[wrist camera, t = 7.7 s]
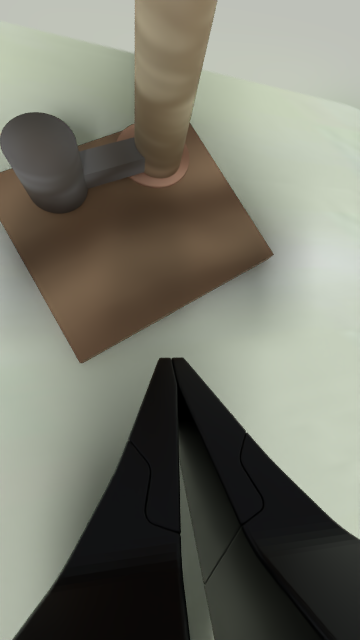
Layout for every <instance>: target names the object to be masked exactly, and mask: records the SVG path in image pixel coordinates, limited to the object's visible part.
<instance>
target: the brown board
mask: <svg viewBox="0 0 360 640" xmlns="http://www.w3.org/2000/svg"><path fill="white" fill-rule="evenodd" d="M134 134H135V124H132V125H130V126H128V127H127V128H126V129H124V130H123V131H120V132H117V133H114V134H111V135H108V136H105V137H103V138H100V139H97V140H94V141H91V142H88V143H85V144H82V145H79V146H78V150H79V151H83V150H87V149H90V148H94V147H98V146H102V145H106V144H110V143H114V142H118V141H121V140H125V139H129V138H133V137H134ZM0 221H1V222H2V224H3V226H4V228H5V230H6V231H7V233H8V235H9V237H10V239H11V240H12V242H13V244H14V246H15V248H16V249H17V251H18V253H19V255H20V257H21V258H22V260H23V262H24V264H25V265H26V267H27V269H28V271H29V273H30V274H31V276H32V278H33V280H34V282H35V283H36V285H37V287H38V289H39V291H40V292H41V294H42V296H43V298H44V299H45V301H46V303H47V305H48V307H49V308H50V310H51V312H52V314H53V316H54V317H55V319H56V321H57V323H58V325H59V326H60V328H61V330H62V332H63V334H64V335H65V337H66V339H67V341H68V342H69V344H70V346H71V348H72V350H73V351H74V353H75V355H76V357H77V359H78V360H79V362H80V363H84V362H86V361H87V360H89V359H91V358H93V357H94V356H96V355H98V354H100V353H102V352H103V351H105V350H107V349H109V348H110V347H112V346H114V345H116V344H118V343H119V342H121V341H123V340H125V339H127V338H128V337H130V336H132V335H134V334H135V333H137V332H139V331H141V330H143V329H144V328H146V327H148V326H150V325H151V324H153V323H155V322H157V321H159V320H160V319H162V318H164V317H166V316H168V315H169V314H171V313H173V312H175V311H176V310H178V309H180V308H182V307H184V306H185V305H187V304H189V303H191V302H192V301H194V300H196V299H198V298H200V297H201V296H203V295H205V294H207V293H209V292H210V291H212V290H214V289H216V288H217V287H219V286H221V285H223V284H225V283H226V282H228V281H230V280H232V279H233V278H235V277H237V276H239V275H241V274H242V273H244V272H246V271H248V270H250V269H251V268H253V267H255V266H257V265H258V264H260V263H262V262H264V261H266V260H267V259H269V258H270V257H271V256H273V255H274V254H273V253H272V251H271V249H270V248H269V246H268V245H267V243H266V242H265V240H264V238H263V237H262V235H261V234H260V232H259V231H258V229H257V227H256V226H255V224H254V223H253V221H252V220H251V218H250V216H249V215H248V213H247V212H246V210H245V209H244V207H243V205H242V204H241V202H240V201H239V199H238V198H237V196H236V194H235V193H234V191H233V190H232V188H231V187H230V185H229V183H228V182H227V180H226V179H225V177H224V176H223V174H222V172H221V171H220V169H219V168H218V166H217V165H216V163H215V161H214V160H213V158H212V157H211V155H210V154H209V152H208V151H207V149H206V147H205V146H204V144H203V143H202V141H201V140H200V138H199V136H198V135H197V133H196V132H195V130H194V129H193V127H192V125H191V124H190V123H189V127H188V132H187V136H186V141H185V145H184V149H183V154H182V158H181V162H180V166H179V169H178V170H177V172H176V173H175V174H174V175H172V176H170V177H168V178H162V179H159V178H153V177H150V176H148V175H146V174H145V173H144V172H143V173H140V174H136V175H133V176H130V177H126V178H123V179H119V180H116V181H113V182H109V183H106V184H103V185H99V186H96V187H92V188H89V189H88V193H87V197H86V199H85V201H84V202H83V204H82V205H81V206H80V207H78V208H77V209H75V210H73V211H71V212H67V213H51V212H47V211H45V210H43V209H41V208H39V207H38V206H37V205H36V204H35V203H34V202H33V201H32V200H31V198H30V196H29V195H28V193H27V192H26V190H25V188H24V187H23V185H22V183H21V182H20V180H19V178H18V177H17V175H16V173H15V172H14V170H13V169H9V170H6V171H3V172H0Z"/></svg>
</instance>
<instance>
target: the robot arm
mask: <svg viewBox="0 0 360 640" xmlns="http://www.w3.org/2000/svg"><path fill="white" fill-rule="evenodd" d="M179 460H180V465H181V470H182V475H183V480H184V485H185V490H186V495H187V500H188V506H189V511H190V516H191V521H192V526H193V531H194V536H195V541H196V546H197V551H198V557H199V562H200V567H201V572H202V577H203V582H204V584H205V586H204V588H205V593H206V598H207V603H208V608H209V613H210V618H211V623H212V628H213V634H214V639H215V640H360V539H358V538H356V537H355V536H353V535H352V534H350V533H349V532H348V531H346V530H345V529H343V528H342V527H341V526H340V525H338V524H337V523H336V522H335V521H334V520H333V519H331V518H330V517H329V516H328V515H327V514H326V513H325V512H324V511H323V510H322V509H321V508H320V507H319V506H318V505H317V504H316V503H315V502H314V501H313V500H312V499H311V498H310V497H309V496H308V495H307V494H306V493H304V492H303V491H302V490H301V489H300V488H299V487H298V486H297V485H296V484H295V483H294V482H293V481H292V480H291V479H290V478H289V477H288V476H287V475H286V474H285V473H284V472H283V471H282V470H281V469H280V468H279V467H278V466H277V465H276V464H275V463H274V462H273V461H272V460H271V459H270V458H269V457H268V455H267V454H266V453H265V452H264V451H263V450H262V449H261V448H260V447H259V445H258V444H257V443H256V442H255V441H254V440H253V439H252V437H251V436H250V435H249V434H248V433H246V430H245V429H244V428H243V427H242V426H241V425H240V423H239V422H238V421H237V420H236V419H235V418H234V416H233V415H232V414H231V413H230V412H229V410H228V409H227V408H226V407H225V406H224V405H223V403H222V402H221V401H220V400H219V399H218V398H217V396H216V395H215V394H214V393H213V392H212V391H211V389H210V388H209V387H208V386H207V385H206V384H205V382H204V381H203V380H202V379H201V378H200V376H199V375H198V374H197V373H196V372H195V371H194V369H193V368H192V367H191V366H190V365H189V364H188V362H187V361H186V360H185V359H184V358H172V359H171V358H160V359H159V360H158V363H157V365H156V368H155V371H154V373H153V376H152V378H151V381H150V384H149V386H148V389H147V391H146V394H145V397H144V399H143V402H142V404H141V407H140V410H139V412H138V415H137V417H136V420H135V423H134V425H133V428H132V430H131V433H130V436H129V438H128V441H127V443H126V446H125V448H124V451H123V453H122V456H121V458H120V460H119V463H118V465H117V467H116V470H115V472H114V474H113V476H112V478H111V480H110V482H109V484H108V486H107V488H106V490H105V492H104V494H103V496H102V498H101V500H100V502H99V504H98V506H97V507H96V509H95V511H94V513H93V515H92V517H91V519H90V521H89V522H88V524H87V526H86V528H85V530H84V532H83V534H82V536H81V537H80V539H79V541H78V543H77V545H76V547H75V549H74V550H73V552H72V554H71V556H70V557H69V559H68V561H67V563H66V564H65V566H64V568H63V569H62V571H61V573H60V574H59V576H58V577H57V579H56V581H55V582H54V584H53V585H52V587H51V588H50V590H49V591H48V592H47V594H46V595H45V596H44V598H43V599H42V600H41V602H40V603H39V604H38V606H37V607H36V608H35V610H34V611H33V613H32V614H31V615H30V617H29V618H28V619H27V621H26V622H25V623H24V625H23V626H22V627H21V629H20V630H19V631H18V633H17V634H16V635H15V637H14V638H13V639H12V640H190V635H189V626H188V617H187V608H186V599H185V590H184V581H183V572H182V557H181V536H180V533H181V523H180V477H179Z"/></svg>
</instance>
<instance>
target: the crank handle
mask: <svg viewBox="0 0 360 640" xmlns="http://www.w3.org/2000/svg"><path fill="white" fill-rule="evenodd" d="M216 4H217V0H135V134H134V137H133V138H129V139H125V140H121V141H118V142H114V143H110V144H106V145H102V146H98V147H94V148H90V149H87V150H83V151H79V150H78V146H77V142H76V138H75V136H74V133H73V132H72V130H71V129H70V127H69V126H68V125H67V124H66V123H64V122H63V121H62V120H60V119H59V118H57V117H55V116H52V115H49V114H46V113H38V112H33V113H25V114H22V115H19V116H17V117H15V118H13V119H12V120H10V121H9V122H8V123H7V124H6V125H5V127H4V128H3V130H2V133H1V136H0V145H1V149H2V152H3V154H4V155H5V157H6V159H7V160H8V162H9V164H10V165H11V167H12V169H13V170H14V172H15V173H16V175H17V177H18V178H19V180H20V182H21V183H22V185H23V187H24V188H25V190H26V192H27V193H28V195H29V196H30V198H31V200H32V201H33V202H34V203H35V204H36V205H37V206H38V207H39V208H41V209H43V210H45V211H47V212H51V213H67V212H71V211H73V210H75V209H77V208H78V207H80V206H81V205H82V204H83V202H84V201H85V199H86V197H87V193H88V189H89V188H92V187H96V186H99V185H103V184H106V183H109V182H113V181H116V180H119V179H123V178H126V177H130V176H133V175H136V174H140V173H143V172H144V173H145V174H146V175H148V176H150V177H153V178H159V179H162V178H168V177H170V176H172V175H174V174H175V173H176V172H177V170H178V169H179V166H180V162H181V158H182V154H183V149H184V145H185V141H186V136H187V132H188V127H189V123H190V119H191V114H192V110H193V105H194V101H195V97H196V92H197V88H198V84H199V79H200V75H201V70H202V66H203V61H204V57H205V52H206V48H207V44H208V40H209V35H210V31H211V27H212V22H213V18H214V13H215V9H216Z"/></svg>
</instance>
